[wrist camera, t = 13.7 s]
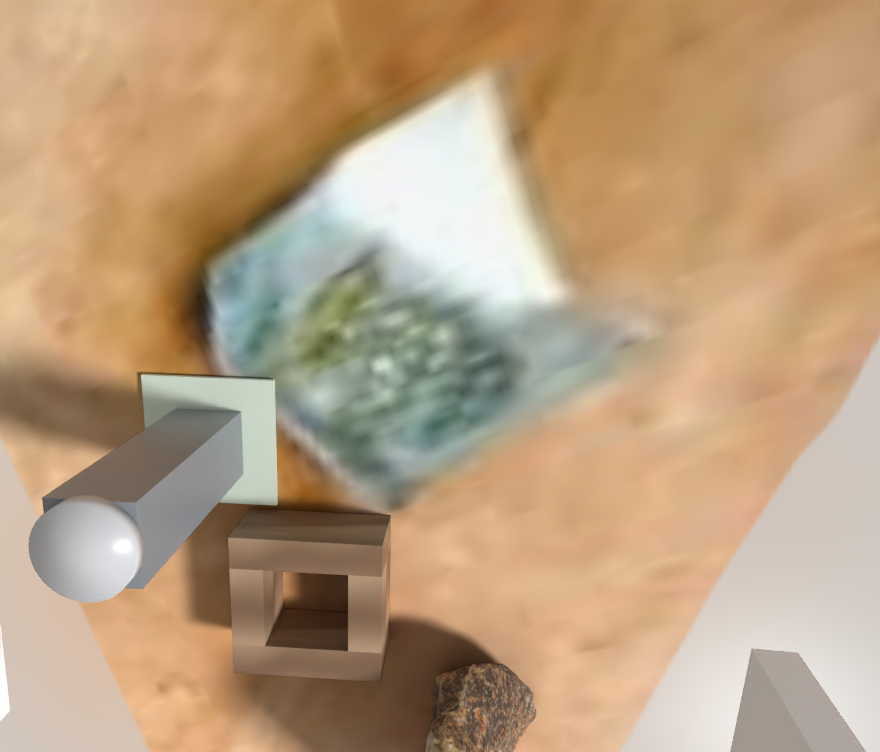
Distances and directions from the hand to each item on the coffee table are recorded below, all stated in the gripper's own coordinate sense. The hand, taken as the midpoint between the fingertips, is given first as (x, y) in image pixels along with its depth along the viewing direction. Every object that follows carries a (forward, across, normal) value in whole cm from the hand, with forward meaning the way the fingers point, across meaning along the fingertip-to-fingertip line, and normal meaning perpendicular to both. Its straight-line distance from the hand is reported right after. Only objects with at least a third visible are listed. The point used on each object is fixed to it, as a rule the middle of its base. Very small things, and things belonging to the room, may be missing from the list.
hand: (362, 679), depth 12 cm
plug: (+34, -16, -9) cm, 38 cm away
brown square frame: (+34, -8, -19) cm, 40 cm away
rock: (+34, +3, -30) cm, 45 cm away
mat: (+34, -16, -9) cm, 39 cm away
